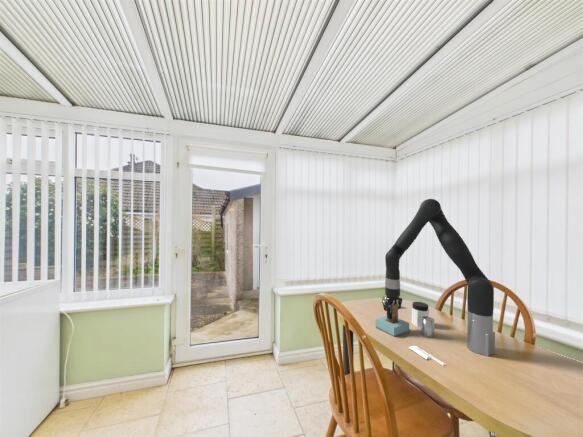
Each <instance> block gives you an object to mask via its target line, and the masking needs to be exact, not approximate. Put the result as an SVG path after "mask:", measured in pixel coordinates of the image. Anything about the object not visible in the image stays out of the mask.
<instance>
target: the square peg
mask: <svg viewBox="0 0 583 437" xmlns="http://www.w3.org/2000/svg"><path fill="white" fill-rule="evenodd" d="M388 305H389V304H388ZM389 306H391V305H389ZM389 310H390V308H389ZM391 313H392V319H388V318H387V321H388V322H390V323H392V324H394V323H398V318H399V309H398V304H394V305H393V308H392V312H391Z"/></svg>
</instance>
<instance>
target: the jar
mask: <svg viewBox="0 0 583 437" xmlns="http://www.w3.org/2000/svg"><path fill="white" fill-rule="evenodd" d="M411 305H412V307H411V325H414V326H415V327H417V328H421V317H424V316H426V317H430V310H429V305H428V303H425V302H422V301H413V302H412V304H411Z"/></svg>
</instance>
